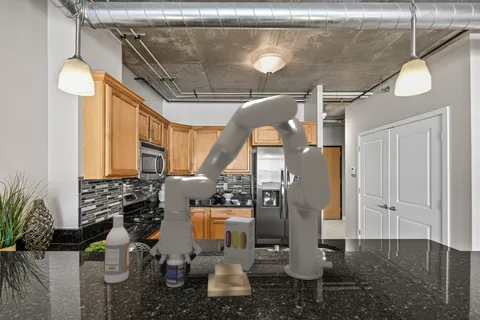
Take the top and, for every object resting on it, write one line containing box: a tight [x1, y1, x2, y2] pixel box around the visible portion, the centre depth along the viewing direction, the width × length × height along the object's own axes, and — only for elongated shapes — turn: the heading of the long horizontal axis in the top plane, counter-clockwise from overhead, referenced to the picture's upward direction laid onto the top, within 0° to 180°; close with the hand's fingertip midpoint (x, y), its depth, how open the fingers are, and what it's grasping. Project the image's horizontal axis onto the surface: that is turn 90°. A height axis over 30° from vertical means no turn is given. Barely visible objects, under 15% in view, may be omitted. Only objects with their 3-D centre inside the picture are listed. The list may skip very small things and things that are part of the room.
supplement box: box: [223, 216, 256, 272], centre depth 94 cm, size 10×9×17 cm
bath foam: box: [103, 214, 131, 284], centre depth 81 cm, size 7×7×20 cm
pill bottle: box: [165, 254, 186, 288], centre depth 77 cm, size 5×5×10 cm
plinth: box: [207, 263, 252, 298], centre depth 76 cm, size 12×12×5 cm
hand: (175, 275), depth 77 cm, fingers open, 6 cm apart
